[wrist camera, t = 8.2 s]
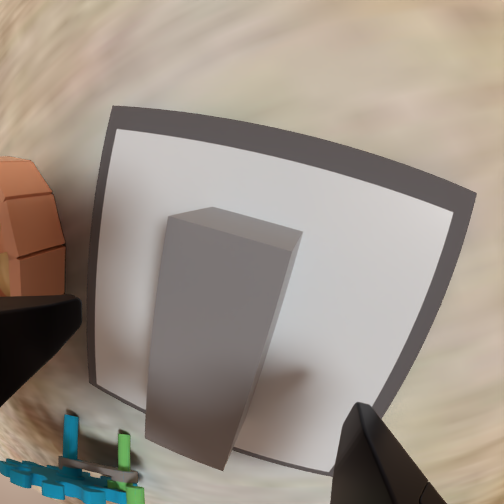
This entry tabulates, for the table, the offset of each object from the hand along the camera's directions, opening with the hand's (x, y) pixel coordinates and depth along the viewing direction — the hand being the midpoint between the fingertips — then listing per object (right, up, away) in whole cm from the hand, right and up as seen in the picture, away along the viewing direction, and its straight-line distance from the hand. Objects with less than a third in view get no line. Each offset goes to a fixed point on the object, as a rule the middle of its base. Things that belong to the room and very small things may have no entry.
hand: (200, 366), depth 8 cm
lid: (+1, +1, +3) cm, 3 cm away
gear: (-9, -11, +9) cm, 16 cm away
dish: (-13, +4, +6) cm, 14 cm away
